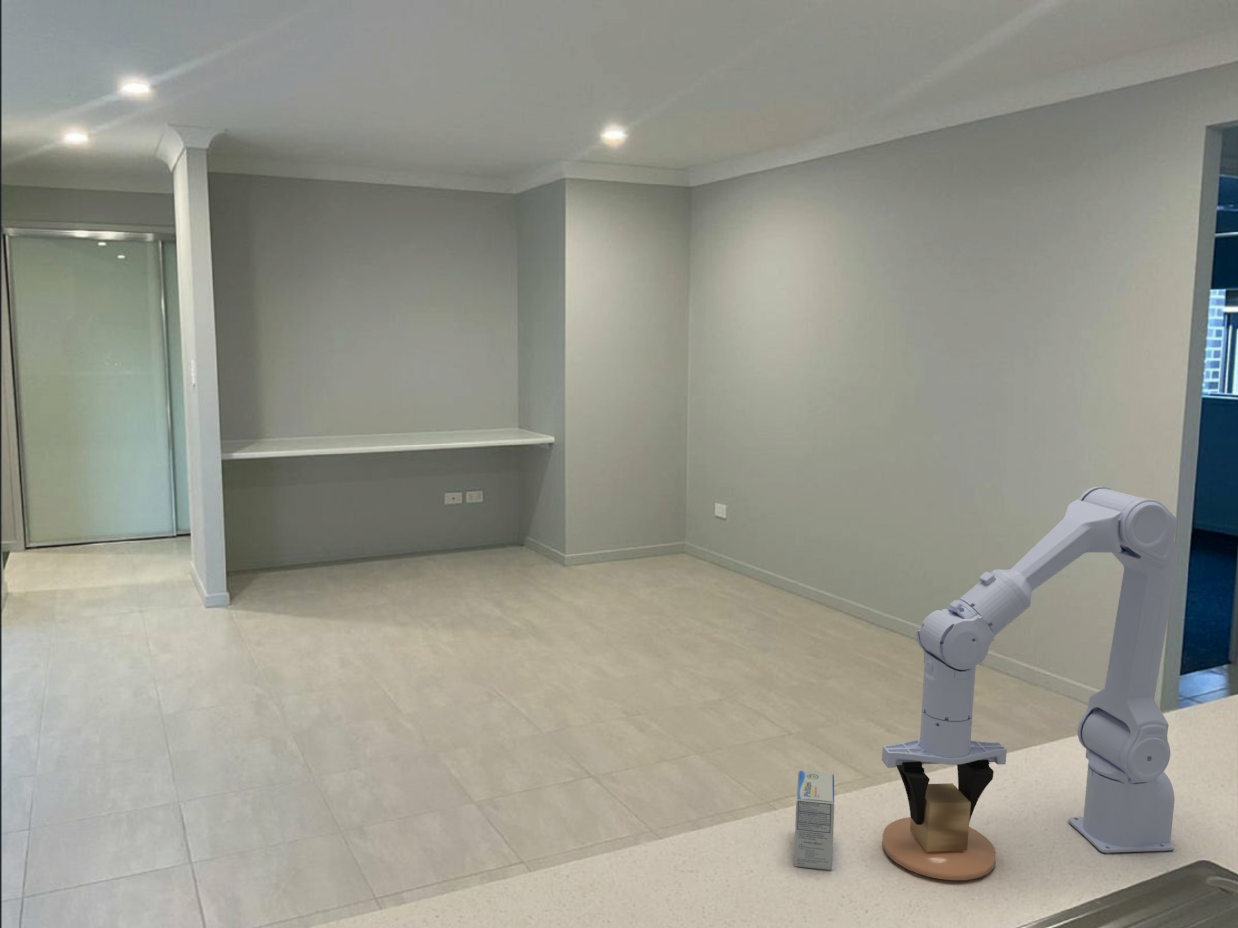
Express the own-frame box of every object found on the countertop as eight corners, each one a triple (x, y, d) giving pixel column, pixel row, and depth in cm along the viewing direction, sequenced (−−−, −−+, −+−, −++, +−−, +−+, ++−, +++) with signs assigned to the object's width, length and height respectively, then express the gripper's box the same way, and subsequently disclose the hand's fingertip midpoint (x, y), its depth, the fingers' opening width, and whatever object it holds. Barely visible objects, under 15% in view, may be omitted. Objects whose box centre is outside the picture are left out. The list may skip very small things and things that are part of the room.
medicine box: (831, 872, 116) (835, 802, 115) (793, 867, 117) (796, 798, 116) (831, 837, 124) (834, 772, 122) (795, 833, 125) (798, 768, 123)
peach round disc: (965, 824, 127) (966, 814, 127) (1015, 881, 114) (1016, 870, 114) (867, 828, 126) (867, 817, 126) (905, 886, 113) (906, 874, 113)
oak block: (949, 829, 123) (952, 783, 122) (967, 850, 118) (970, 802, 117) (910, 830, 122) (913, 784, 121) (926, 851, 117) (930, 803, 117)
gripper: (990, 697, 122) (982, 801, 124) (875, 700, 121) (869, 805, 123) (1018, 720, 115) (1009, 830, 117) (896, 723, 114) (890, 834, 116)
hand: (939, 819), depth 120 cm, fingers open, 5 cm apart
